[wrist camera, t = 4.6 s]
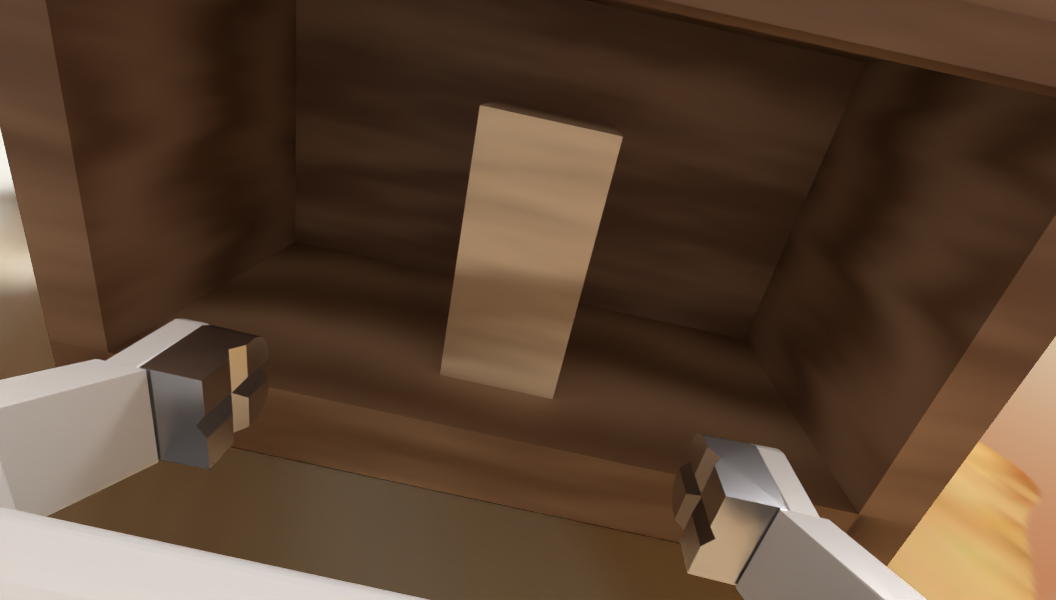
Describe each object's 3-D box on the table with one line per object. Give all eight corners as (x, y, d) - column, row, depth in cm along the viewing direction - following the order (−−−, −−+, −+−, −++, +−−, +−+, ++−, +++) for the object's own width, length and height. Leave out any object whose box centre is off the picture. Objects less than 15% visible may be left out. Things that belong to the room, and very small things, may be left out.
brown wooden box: (873, 584, 18) (1311, -12, 10) (65, 411, 18) (-105, -329, 10) (750, 376, 31) (905, 37, 23) (275, 273, 31) (270, -104, 23)
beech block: (552, 399, 20) (622, 136, 15) (439, 374, 20) (480, 105, 15) (555, 343, 24) (612, 124, 20) (462, 323, 24) (499, 99, 19)
